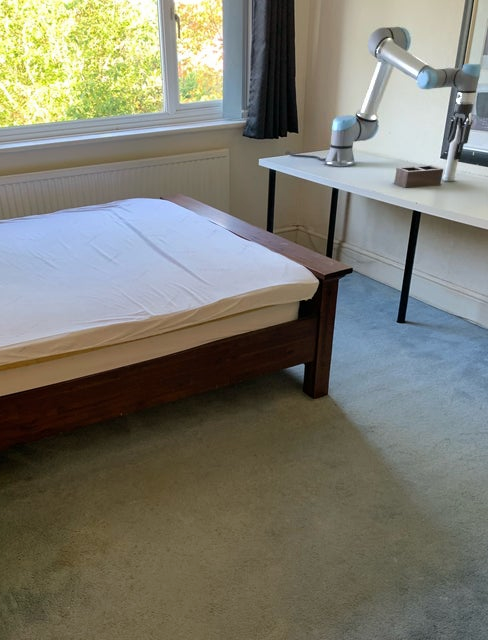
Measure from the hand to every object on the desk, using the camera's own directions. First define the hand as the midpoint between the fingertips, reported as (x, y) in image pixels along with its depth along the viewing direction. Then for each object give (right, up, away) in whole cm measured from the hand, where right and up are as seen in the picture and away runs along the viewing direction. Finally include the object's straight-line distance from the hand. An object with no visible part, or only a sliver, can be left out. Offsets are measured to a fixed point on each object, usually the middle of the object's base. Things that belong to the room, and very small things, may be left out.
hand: (453, 158), depth 276 cm
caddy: (-17, -12, 0) cm, 21 cm away
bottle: (0, -8, +5) cm, 10 cm away
